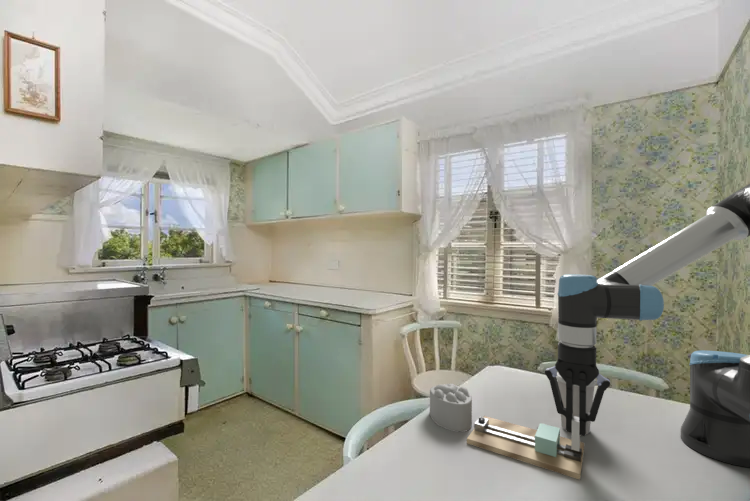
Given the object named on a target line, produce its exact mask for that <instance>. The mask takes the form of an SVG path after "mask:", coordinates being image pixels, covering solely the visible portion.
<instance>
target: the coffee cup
mask: <svg viewBox="0 0 750 501" xmlns="http://www.w3.org/2000/svg"><path fill="white" fill-rule="evenodd" d="M556 378H557V382H558V386H559V390H560V394H561V397H562V401H563V405H564V408H566V382H565V381H564V380H563V378H562V377H561V375H560V374H559V372H558V371H557V376H556ZM596 386H598V385H597V379H596V378H595V379H594V380H593V381H592V382H591V383H590V384H589V385H588V386H586V413H590V410H591V406H592V403H593V400H594V396H595V387H596ZM573 416H576V417H579V386H578V385H573ZM560 421H561V422H560V424H561V425H560V426H561V428H563V429H564V431H566V417H565V416H564V415H562V414H560ZM590 430H591V421H587V422H586V434H585V436H586V435H589V433H590Z"/></svg>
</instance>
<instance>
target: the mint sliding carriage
mask: <svg viewBox="0 0 750 501" xmlns="http://www.w3.org/2000/svg"><path fill="white" fill-rule="evenodd" d="M537 427H538V428H537V429H536V430H537V432H536V434H535V451H537V452H540V453H543V454H547V455H550V456H553V457H556V456H557V444H560V436H561V427H557V426H553V425H549V424H546V423H541V422H539V424H538V426H537Z"/></svg>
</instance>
